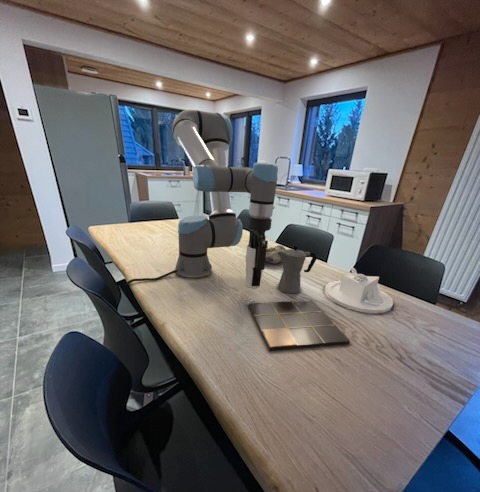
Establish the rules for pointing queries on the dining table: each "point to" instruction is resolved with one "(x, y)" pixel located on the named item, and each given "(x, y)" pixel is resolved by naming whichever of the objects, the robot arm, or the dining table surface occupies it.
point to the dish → (359, 293)
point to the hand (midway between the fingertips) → (253, 281)
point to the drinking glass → (250, 266)
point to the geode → (273, 254)
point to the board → (295, 325)
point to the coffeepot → (293, 268)
